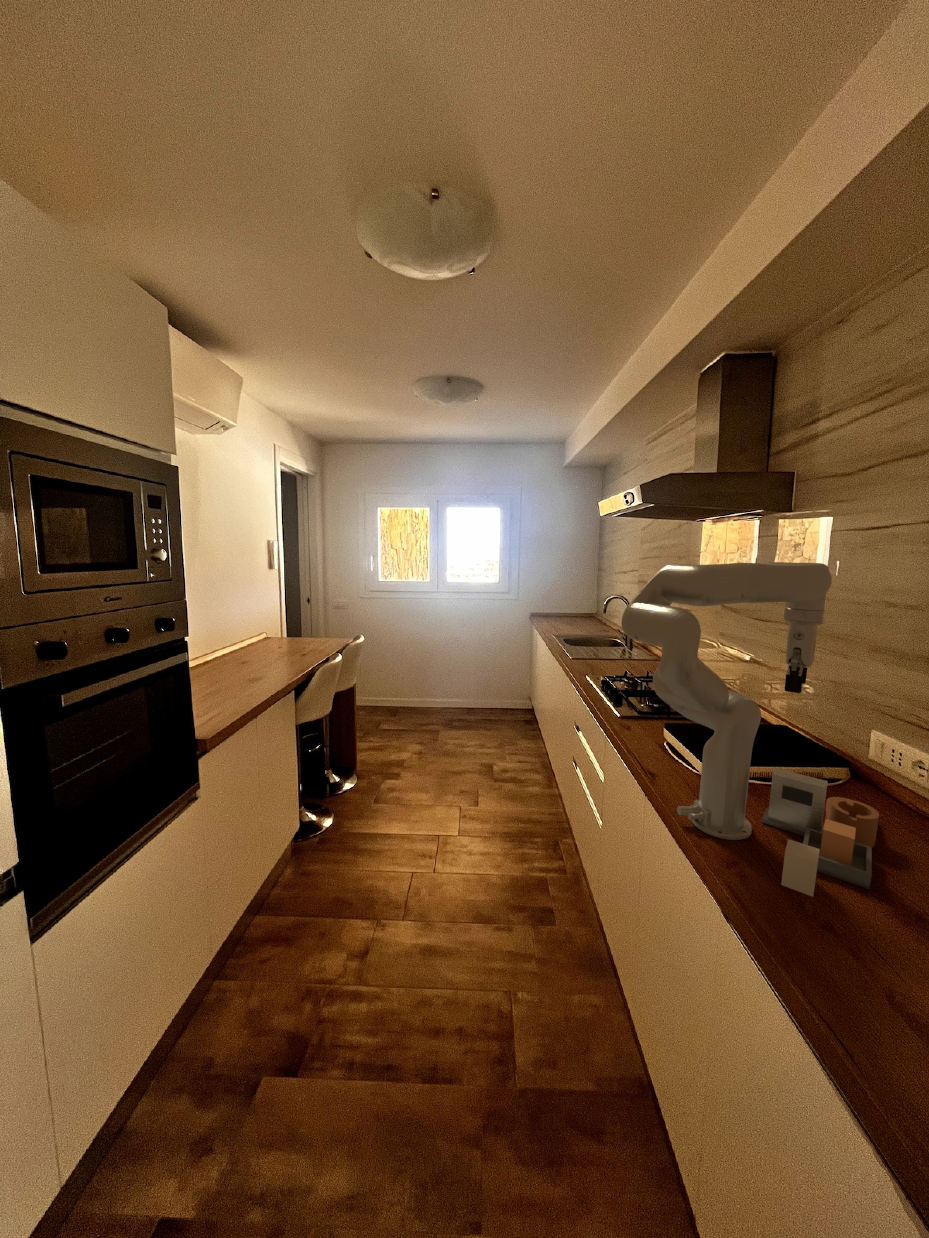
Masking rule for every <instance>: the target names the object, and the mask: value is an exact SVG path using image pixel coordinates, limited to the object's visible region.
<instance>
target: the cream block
mask: <svg viewBox="0 0 929 1238" xmlns="http://www.w3.org/2000/svg"><path fill="white" fill-rule="evenodd" d="M819 850H820V849H817V848H814V847H811V846H808V845H805V844H803V842H802V843H801V842H799V841H796V840H792V839H787V843H786V847H785V850H784V856H783V857H784V859H783V866H782V867H783V868H782V874H781V886H783V887H786V888H789V889H791V890H794V891H796V892H799V893H802V894H805V895H807V896H809V897H814V895H815V894H814V893H815V886H816V879H817V873H818V872H817V866H818V858H819Z"/></svg>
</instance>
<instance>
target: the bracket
mask: <svg viewBox="0 0 929 1238" xmlns="http://www.w3.org/2000/svg"><path fill="white" fill-rule="evenodd" d="M825 811H826V812H825ZM824 812H825V819H828V820H831V821H835V822H838V823H841V824H845V825H848V826H852V827H855V828H856V832H855V841H854V842H856V843H860V844H863V845H866V846H869V847H872V848H873V847H874V846H875V844H876V841H877V840H876V838H877V831H878V825H879V820H880V819H879V818H880V813H879V812H878V810H876V809H875V808H874V807H872V806H870V805H868V804H866V803H864V802H861V801H858V800H854V799H850V798H847V797H841V796H831V797H828V798H826V801H825V808H824Z"/></svg>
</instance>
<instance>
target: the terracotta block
mask: <svg viewBox="0 0 929 1238" xmlns="http://www.w3.org/2000/svg"><path fill="white" fill-rule="evenodd" d="M823 823H824V824H823V825H824V828H823V834H822V842H821V849H820V856H822V857H825V858H828V859H831V860H834V861H837V862H840V863H843V864H846V865H849V866H851V862H852V855H853V848H854V841H855V832H856V828H855V827H852V826H848V825H845V824H841V823H838V822H835V821H831V820H828V819H826V818H825V819H824V822H823Z"/></svg>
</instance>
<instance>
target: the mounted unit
mask: <svg viewBox="0 0 929 1238" xmlns="http://www.w3.org/2000/svg"><path fill="white" fill-rule="evenodd" d="M771 776H772V778H771V787H770V794H769V802H768V803H769V804H768V807H766V808H765V811H764V813H763V815H762V817H761V824H764V825H767V826H769V827H770V826H771V827H775V828H777V829H781V830H782V831H787V832H790V833H793V834H796V835H800V836H802V837H804V836H805V832H806V828H811V829H814V830H817V831H820V832H823V828H824V824H823V823H824V822H823V820H824V813H825V808H826V800H827V798H826V797H827V789H828V783H829V782H828V780H824V779H820V778H817V777H813V776H808V775H804V774H800V773H797V772H794V771H789V770H785V769H781V768H777V767H774V770H773V773H772V775H771Z"/></svg>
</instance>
